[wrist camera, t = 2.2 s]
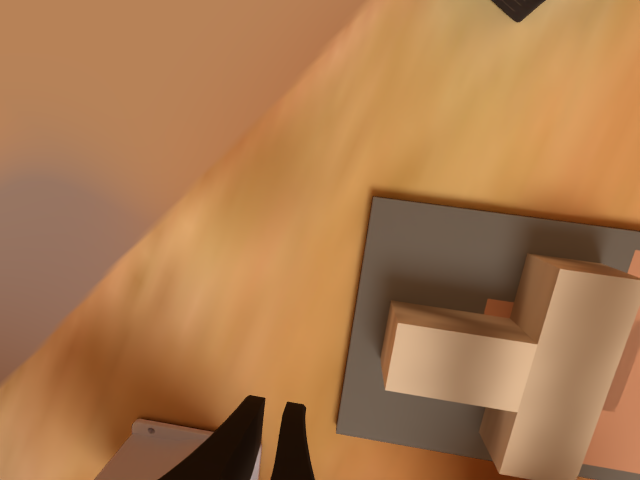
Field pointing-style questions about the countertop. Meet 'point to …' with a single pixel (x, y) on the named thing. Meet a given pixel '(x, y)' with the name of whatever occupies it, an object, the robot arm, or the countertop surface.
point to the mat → (477, 297)
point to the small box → (518, 7)
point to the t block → (523, 361)
